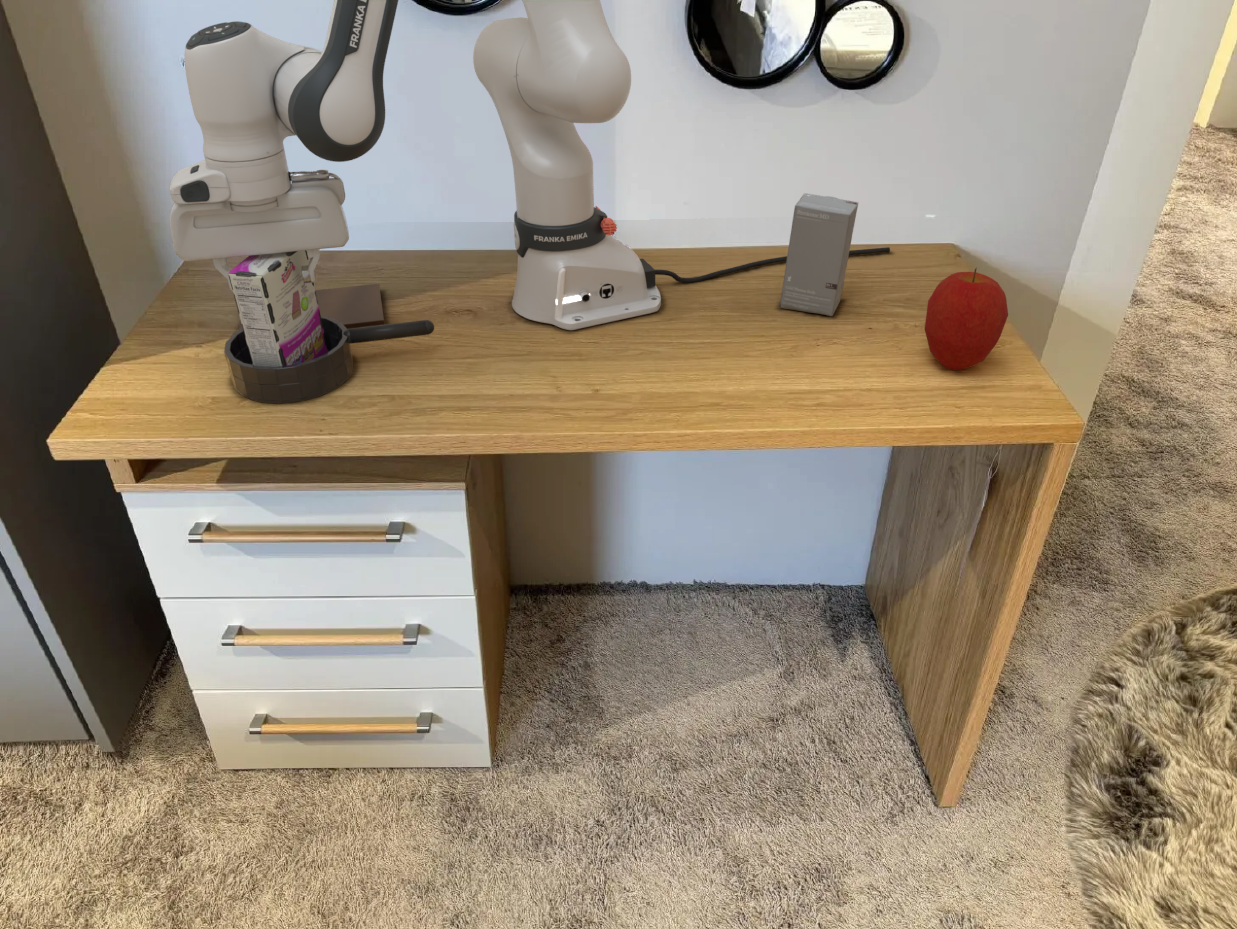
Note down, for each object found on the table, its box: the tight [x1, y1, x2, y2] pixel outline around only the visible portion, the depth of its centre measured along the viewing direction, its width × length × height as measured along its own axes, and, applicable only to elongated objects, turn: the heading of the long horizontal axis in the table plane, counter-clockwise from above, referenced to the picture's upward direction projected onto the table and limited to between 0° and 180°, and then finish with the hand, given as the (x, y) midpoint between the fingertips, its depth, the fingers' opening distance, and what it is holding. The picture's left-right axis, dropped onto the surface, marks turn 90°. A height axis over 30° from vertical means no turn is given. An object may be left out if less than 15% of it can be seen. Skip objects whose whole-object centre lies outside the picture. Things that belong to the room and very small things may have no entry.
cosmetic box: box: [779, 192, 859, 317], centre depth 140 cm, size 8×7×16 cm
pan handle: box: [343, 319, 435, 345], centre depth 128 cm, size 12×2×2 cm, turn 105°
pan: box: [223, 316, 354, 404], centre depth 126 cm, size 15×15×5 cm
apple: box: [924, 267, 1009, 371], centre depth 125 cm, size 10×10×14 cm
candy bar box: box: [228, 250, 329, 367], centre depth 123 cm, size 11×5×16 cm, turn 168°
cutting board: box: [238, 283, 385, 331], centre depth 141 cm, size 20×13×2 cm, turn 105°
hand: (273, 284), depth 120 cm, fingers open, 7 cm apart
